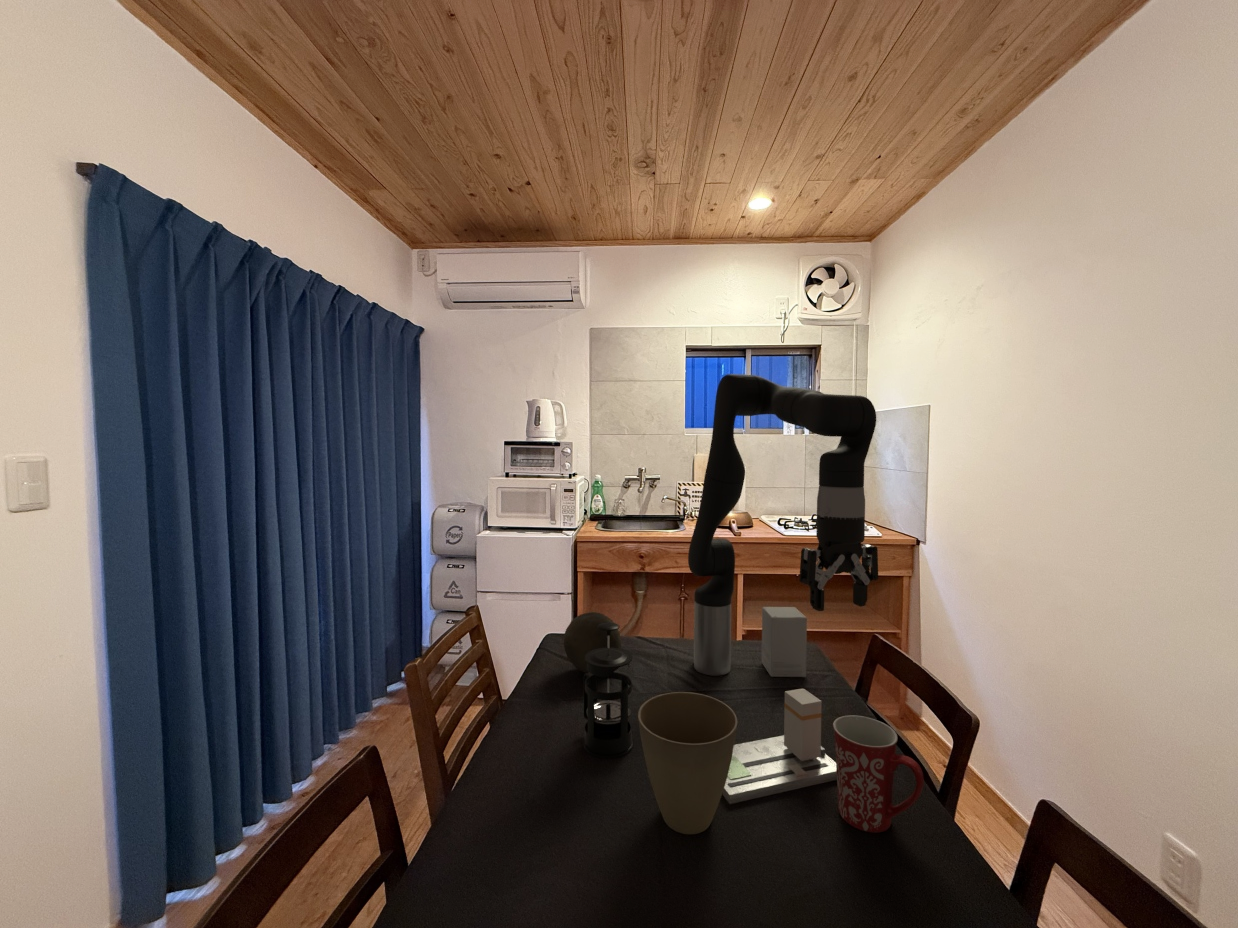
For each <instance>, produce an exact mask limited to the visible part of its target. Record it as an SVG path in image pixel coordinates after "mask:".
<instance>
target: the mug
mask: <svg viewBox="0 0 1238 928" xmlns="http://www.w3.org/2000/svg"><path fill="white" fill-rule="evenodd" d="M832 728H833V731H834V746H835V747H834V749H835V750H834V751H835V762H836V773H837V780H836V784H837V785H836V786H837V806H838V807H837V808H838V812H839V815H840V816H841V818H842V820H844V821H845V823H847V824H849V825H850V826H852V827H854V828H855V829H858V830H860V831H863V832H867V833H873V834H874V833H876V834H877V833H883V832H885V831H887V830H888V829H889V828H890V827H891V824H892V818H894V817H896V816H897V815H899V814H901V813H902V812H904V811H907V809H908V808H910V807H911V806H912V805H913V804H914V803H915V802H916V801H917V800H918V798H919V796H920V795H921V793H922V790H923V788H924V782H925V781H924V780H925V779H924V777H925V776H924V773H923V770H922V768H921V766H920V764H919V763H918V762H917V761H916V760H914V759H913V758H912V757H909V756H907V755H903V754H897V753H896V750H897V749H896V747H897V743H898V734H897V732H896V731H895V730H894V729H893V728H892V727H891V726H889V724H886V723H884V722H882V721H880V720H877V719H875V718H872V717H868V716H862V715H854V714H853V715H843V716H840V717H837V718H836V719H835V720H834V721H833V723H832ZM900 765H904V766H907V767H908V768H909V769H910V770H911V771H912V773H913V774H914V776H915V781H916V783H915V788H914V791H913V792H912V794H911V795H910V796H908V797H907V798H906V799H905V800H903V801H902V802H900V803H898V804H896V805H895V804H893V794H894V779H895V772H896V770H897V768H898V767H899V766H900Z"/></svg>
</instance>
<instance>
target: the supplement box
mask: <svg viewBox="0 0 1238 928" xmlns="http://www.w3.org/2000/svg"><path fill="white" fill-rule="evenodd" d="M761 610H762V613H761V614H762V615H761V616H762V617H761V664H762V665H763V666H764V668H765V670H766V671H767V672H768V674H769V676H770V677H771V678H773V677H775V678H776V677H777V678H779V677H780V678H781V677H782V678H783V677H784V678H785V677H786V678H788V677H789V678H806V677H807V635H808V632H807V630H808V629H807V628H808V617H806V616H805V614H803V613H802V612H801V611H800V610H798V609H797V607H796V606H763V607H762V609H761Z"/></svg>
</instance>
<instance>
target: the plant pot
mask: <svg viewBox="0 0 1238 928" xmlns="http://www.w3.org/2000/svg"><path fill="white" fill-rule="evenodd" d="M637 717H638V718H637V719H638V727H639V732H640V733H639V734H640V739H641V744H642V746H641V747H642V751H643V756H644V761H645V764H646V768H647V769H646V770H647V774H648V777H649V780H650V784H651V787H652V790H653V794H654V797H655V800H656V803H657V805H658V807H659V811H660V812H661V816H662V819H663V821H664V823H666V825H667V826H668V827H669V828H670V829H671V830H673V831H675V832H677V833H679V834H683V835H697V834H700V833H702V832H705V831H706V830H707V829H709V827H710V825H711V824H712V821H713V819H714V817H715V814H716V812H717V810H718V807H719V805H720V801H721V798H722V796H723V795H722V793H723V789H724V786H725V783H726V779H727V776H728V772H729V768H730V764H731V759H732V754H733V748H734V745H735V742H736V741H735V740H736V735H737V728H738V718H737V715H736V712H735V711H734V710H733V709H732V708H731V707H730V706H729V705H727V704H726V703H725V702H724V701H721V700H720V699H717V698H715V697H712V696H710V695H706V694H703V693H698V692H691V691H673V692H668V693H667V692H666V693H662V694H658V695H655V696H653V697H651V698H649V699H647V700H646V701H645V702H643V703H642V704H641V706H640V707H639V709H638V712H637Z"/></svg>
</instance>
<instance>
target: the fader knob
mask: <svg viewBox="0 0 1238 928" xmlns="http://www.w3.org/2000/svg"><path fill="white" fill-rule="evenodd" d="M822 703H823V702H822V700H820V699H819V698H818V697H816V696H815V695H814V694H812V693H811V692H809V690H806V689H805V688H798V689H791V690H786V691H784V703H783V708H784V714H783V715H784V717H783V718H784V719H783V720H784V722H783V724H784V725H783V727H784V728H783V730H784V731H783V735H784V746H786V747H787V748H788V749H789V750H790V751H791V752H792V753H793V754H794V755H795V756H796V757H798V758H799V759H800V760H801V761H804V760H808V759H813V758H818V757H821V746H822V744H821V743H822V715H823V713H822Z"/></svg>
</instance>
